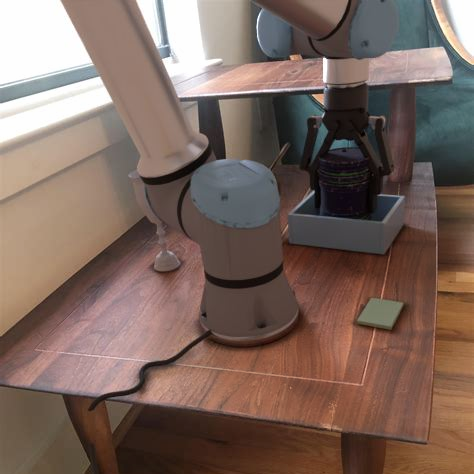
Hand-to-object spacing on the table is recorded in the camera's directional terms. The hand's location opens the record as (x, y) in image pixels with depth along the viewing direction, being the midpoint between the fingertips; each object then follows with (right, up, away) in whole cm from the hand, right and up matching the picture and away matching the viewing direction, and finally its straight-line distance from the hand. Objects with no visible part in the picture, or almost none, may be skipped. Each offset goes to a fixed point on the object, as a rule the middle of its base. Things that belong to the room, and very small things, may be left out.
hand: (345, 208), depth 104 cm
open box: (+1, -4, +3) cm, 5 cm away
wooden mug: (-15, -3, +9) cm, 18 cm away
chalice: (-34, -11, 0) cm, 36 cm away
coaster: (+1, -20, -23) cm, 30 cm away
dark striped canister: (0, -4, +3) cm, 5 cm away
